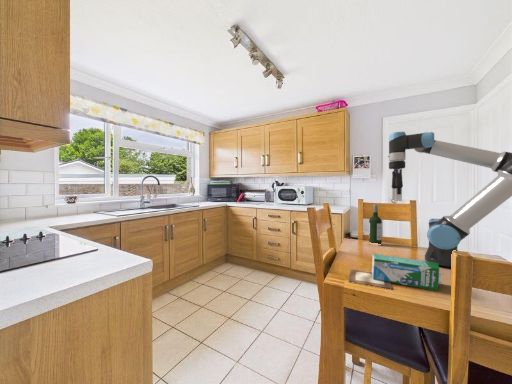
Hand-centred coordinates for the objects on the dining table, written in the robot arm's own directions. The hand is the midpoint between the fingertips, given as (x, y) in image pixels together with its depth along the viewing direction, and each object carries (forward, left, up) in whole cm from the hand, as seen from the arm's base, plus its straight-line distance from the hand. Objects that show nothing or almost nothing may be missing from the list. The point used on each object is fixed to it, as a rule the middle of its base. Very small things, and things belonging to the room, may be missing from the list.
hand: (396, 200), depth 118 cm
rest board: (+14, +30, -35) cm, 48 cm away
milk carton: (+13, +27, -29) cm, 42 cm away
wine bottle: (+8, -38, -35) cm, 52 cm away
